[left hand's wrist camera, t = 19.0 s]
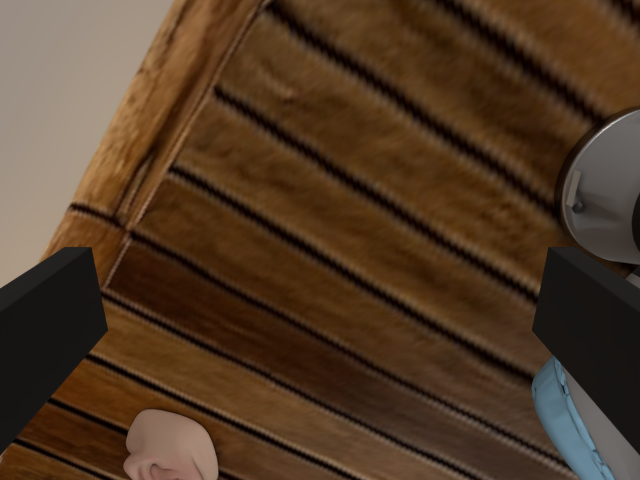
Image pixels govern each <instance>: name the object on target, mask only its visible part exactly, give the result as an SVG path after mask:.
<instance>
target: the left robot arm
mask: <svg viewBox="0 0 640 480" xmlns="http://www.w3.org/2000/svg"><path fill="white" fill-rule="evenodd" d="M555 205H556V212H557V216H558V219H559V221H560V224H561V226H562V228H563V229H564V231H565V232H566V234H567V235H568V236H569V237H570V238H571V239H572V240H573V241H574V242H575V243H576V244H578V245H579V246H581V247H582V248H584V249H586V250H587V251H589V252H590V253H592V254H594V255H596V256H598V257H601V258H603V259H607V260H611V261H618V262H625V263H632V264H640V106H636V107H632V108H628V109H625V110H622V111H620V112H617V113H615V114H613V115H611V116H609V117H607V118H606V119H604V120H603V121H601V122H600V123H598V124H597V125H595V126H594V127H593V128H592V129H591V130H589V131H588V132H587V133H586V134H585V135H584V136H583V137H582V138H581V139H580V140H579V141H578V143H577V144H576V145H575V146H574V148H573V149H572V150H571V152H570V153H569V155H568V157H567V158H566V160H565V162H564V164H563V166H562V169H561V171H560V174H559V177H558V181H557V186H556V193H555ZM107 331H108V328H107V323H106V318H105V313H104V308H103V303H102V298H101V293H100V288H99V283H98V278H97V273H96V268H95V263H94V258H93V253H92V248H91V247H64V248H63V249H61V250H59V251H58V252H56V253H55V254H53V255H52V256H50V257H49V258H47V259H45V260H44V261H42V262H41V263H39V264H38V265H36V266H35V267H33V268H31V269H30V270H28V271H27V272H25V273H24V274H22V275H20V276H19V277H17V278H16V279H14V280H13V281H11V282H10V283H8V284H7V285H5V286H3V287H2V288H0V455H1V454H2V453H3V452H4V451H5V450H6V448H7V447H8V446H9V445H10V444H11V443H12V441H13V440H14V439H15V438H16V437H17V436H18V434H19V433H20V432H21V431H22V430H23V429H24V427H25V426H26V425H27V424H28V423H29V422H30V420H31V419H32V418H33V417H34V416H35V415H36V413H37V412H38V411H39V410H40V409H41V408H42V406H43V405H44V404H45V403H46V402H47V401H48V399H49V398H50V397H51V396H52V395H53V394H54V392H55V391H56V390H57V389H58V388H59V387H60V385H61V384H62V383H63V382H64V381H65V380H66V379H67V377H68V376H69V375H70V374H71V373H72V372H73V370H74V369H75V368H76V367H77V366H78V365H79V363H80V362H81V361H82V360H83V359H84V358H85V356H86V355H87V354H88V353H89V352H90V351H91V349H92V348H93V347H94V346H95V345H96V344H97V342H98V341H99V340H100V339H101V338H102V337H103V335H104V334H105V333H106V332H107ZM532 331H533V332H534V333H535V334H536V335H537V337H538V338H539V339H540V340H541V341H542V342H543V344H544V345H545V346H546V347H547V348H548V349H549V351H550V352H551V353H552V354H553V355H552V356H551V357H550V359H549V360H548V361H547V362H546V363H545V365H544V366H543V367H542V368H541V369H540V370H539V371H538V373H537V374H536V375H535V377H534V380H533V382H532V398H533V401H534V406H535V410H536V413H537V415H538V417H539V420H540V422H541V424H542V426H543V428H544V429H545V431H546V433H547V435H548V436H549V438H550V440H551V441H552V443H553V444H554V446H555V447H556V449H557V450H558V452H559V453H560V454H561V456H562V457H563V458H564V460H565V461H566V462H567V464H568V465H569V466H570V468H571V469H572V470H573V471H574V473H575V474H576V475H577V476H578V477H579V478H580V480H640V265H639V266H638V267H637V268H636V269H635V270H634V271H633V272H632V273H631V274H630V275H629V276H628V277H627V278H626V279H624V278H623V277H621V276H620V275H618V274H616V273H615V272H613V271H612V270H610V269H609V268H607V267H605V266H604V265H602V264H601V263H599V262H598V261H596V260H595V259H593V258H591V257H590V256H588V255H587V254H585V253H584V252H582V251H581V250H579V249H577V248H576V247H549V248H548V253H547V258H546V263H545V268H544V273H543V278H542V283H541V288H540V293H539V298H538V303H537V308H536V313H535V318H534V323H533V328H532Z"/></svg>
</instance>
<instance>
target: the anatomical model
mask: <svg viewBox="0 0 640 480" xmlns="http://www.w3.org/2000/svg"><path fill="white" fill-rule="evenodd" d="M126 446H127V449H128V451H129V452H130V453H131V455H130V456H129V457H128V458H127V459H126V461H125V463H124V470H125V471H126V473H127V474H128V475H129V476H130V477H131V479H132V480H217V478H218V463H217V457H216V453H215V450H214V446H213V444H212V441H211V439H210V436H209V435H208V433H207V431H206V430H205V429H204V428H203V427H202V426H201V425H200V424H198V423H197V422H195V421H194V420H192V419H189V418H187V417H184V416H182V415H178V414H175V413H171V412H167V411H162V410H155V409H148V410H144V411H142V412H140V413H139V414H138V416H137V417H136V418H135V420H134V422H133V424H132V426H131V427H130V430H129V432H128V436H127V440H126Z"/></svg>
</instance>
